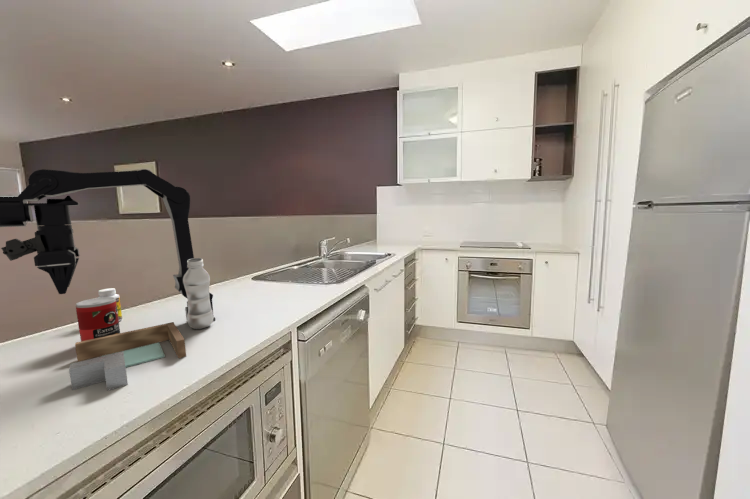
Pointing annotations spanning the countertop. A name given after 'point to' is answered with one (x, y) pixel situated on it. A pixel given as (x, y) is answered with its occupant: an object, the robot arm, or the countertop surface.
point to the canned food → (97, 318)
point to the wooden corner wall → (131, 341)
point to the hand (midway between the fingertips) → (64, 290)
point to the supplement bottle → (112, 293)
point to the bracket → (99, 371)
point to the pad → (142, 354)
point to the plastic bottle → (198, 294)
